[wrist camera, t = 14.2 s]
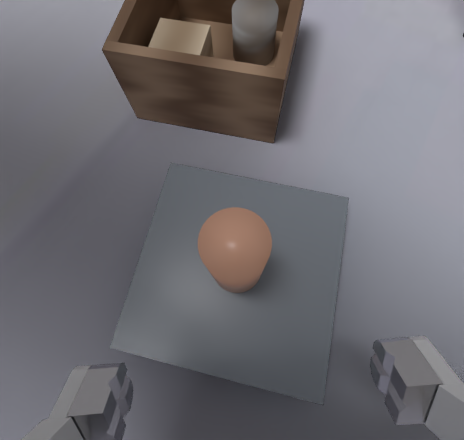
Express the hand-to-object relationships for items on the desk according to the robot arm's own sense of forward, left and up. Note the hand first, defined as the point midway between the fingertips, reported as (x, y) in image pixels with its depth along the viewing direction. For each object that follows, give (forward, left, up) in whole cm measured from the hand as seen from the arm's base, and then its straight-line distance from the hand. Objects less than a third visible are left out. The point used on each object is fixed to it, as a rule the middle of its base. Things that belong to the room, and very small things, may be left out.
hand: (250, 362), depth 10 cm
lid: (-2, +4, -11) cm, 12 cm away
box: (-7, +21, -11) cm, 25 cm away
